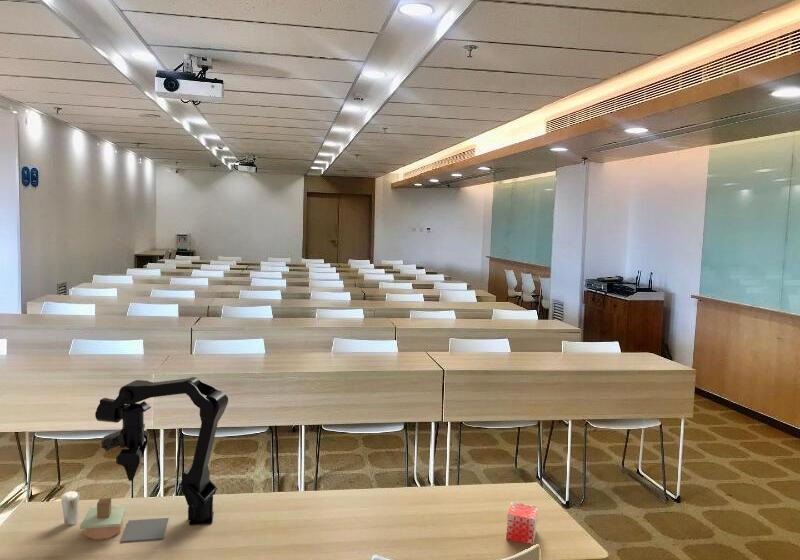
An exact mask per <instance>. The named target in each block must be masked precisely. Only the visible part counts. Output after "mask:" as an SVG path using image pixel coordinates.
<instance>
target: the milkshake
mask: <svg viewBox="0 0 800 560" xmlns="http://www.w3.org/2000/svg"><path fill="white" fill-rule="evenodd" d="M80 493H81V491H79V492H77V491H74V490H73V491H72V490H71V491H67V492H65V493H63V495H62V496H61V498H60V499H61V506H62V514H63V523H64V525H65V526H67V527H69V526H74V525H76V524H77V522H78V518H79V517H78V515H79V502H80Z"/></svg>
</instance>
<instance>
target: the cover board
mask: <svg viewBox="0 0 800 560" xmlns="http://www.w3.org/2000/svg"><path fill="white" fill-rule="evenodd" d="M127 510H128V505H116V506H113V505H112V497H107V498H105V497H103V498H99V499H98V501H97V503H96V507H89V509H88V511H87V512H86V514H85V516H84V518H83V520H82V522H81V524H80V526H79V530H83V529H85V530H86V529H87V528H102V527H116V526H120V524H121V522H122V519H123V520H124V517H125V515H126V512H127Z"/></svg>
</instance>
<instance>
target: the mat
mask: <svg viewBox="0 0 800 560" xmlns="http://www.w3.org/2000/svg"><path fill="white" fill-rule="evenodd" d="M168 523H169V517H160V518H145V519H133V520H131V519H130V520H128V522H127V524H126V525H125V529H124V532H123V535H122V537H121V539H120V544H121V543H133V542H135V543H136V542H144V541H146V542H147V541H158V540H164V538H165V533H166V530H167V526H168Z"/></svg>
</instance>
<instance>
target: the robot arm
mask: <svg viewBox="0 0 800 560" xmlns="http://www.w3.org/2000/svg"><path fill="white" fill-rule="evenodd" d="M182 394H183V395H185V394H186V395H187V396H188V397H189V399H190V401H191V402H192V403H193V404H194V405H195V406H196V407H197V408H198V409H199V417H200V423H201V425H200V428H199V433H198V438H197V440H196V446H195V451H194V455H193V458H192V464H191V465H190V466H188V468H186V469H185V471H183V472H182V475H181V482H180V484H179V486H180V487H181V488H180V489H181V490H180V491H181V493H182V495H183V496H184V498H185V501H186V504H187V520H188V521H189V522H188V525H189V526H197V525H211V524H213V520H214V495H215V494H216V493H217V490H218V487H217V486H216V485H215V484H214V483H213V482H212V481H211V479H210V477H211V471H210V469H209V462H210V457H211V454H212V450H213V445H214V441H215V436H216V432H217V428H218V424H219V421H220V420H221V418H222V416H223V415H224V413H225V411H226V409H227V406H228V404H229V396H227V394H226V393H225V392H224V391H222V390H219V389H218V388H216V387H215V386H213V385H212V384H209V383H207V382H204V381H202V380H201V379H200V378H199V377H196V376H192V377H191V376H190V377H189V378H188V377H187V378H181V379H172V380H164V381H154V382H153V381H148V380H144V379H143V380H141V379H136V380H133V381H131V382H129V383H126V384H125V385H123V386H122V387H120V389H119V391H118V396H117V397H116V398H115V399H113V398H108V397H103V398H101V399H99V403H98V405H97V406H96V407H97V408H96V411H95V413H94V415H95V419H96V420H97V422H98V421H99V422H105V423H117V424H118V423H119V422H120V421H121V420H122V428H121V430H118V431H115V432H112V433H110V434H109V433H108V434H106V435H105V436H103V437H102V438H101V440H100V444H101V446H100V447H101V449H104V452H108V451H110V450H111V449H114V448H116V447H119V448H121V449H120V450H119V451H118V453H117V454H116V457H115V464H117V465H118V466H122V467H123V468H124V471H125V474H126V476H127V480H128V481H129V482H133V481H134V478H135V475H136V473H137V471H138V470H139V466H140V464H141V460H142V458H143V456H144V453H145V450H146V448H147V445H148V443H149V439H150V432H149V431H147V430H146V429H145V426H146V424H145V422H144V419H145V417H144V413H145V412H146V411H148V410H150V409H151V408H152V407H151V405H149V404H148V403H147V402H146V401H145V400H148V399H151V398H159V397H165V396H166V397H167V396H174V395H175V396H176V395H182ZM124 448H125V449H124Z"/></svg>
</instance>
